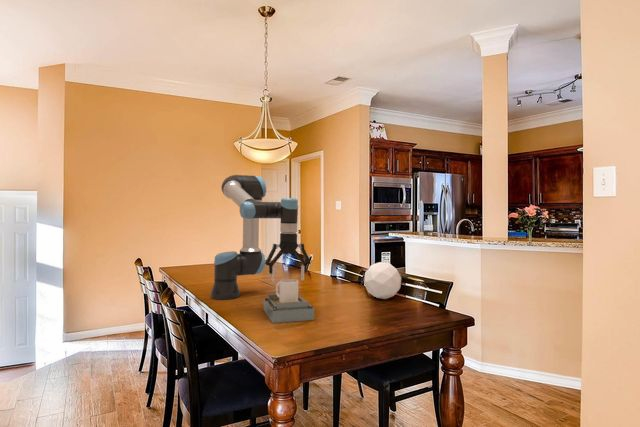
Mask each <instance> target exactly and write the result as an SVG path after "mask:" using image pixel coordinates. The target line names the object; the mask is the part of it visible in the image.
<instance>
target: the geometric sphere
mask: <svg viewBox="0 0 640 427" xmlns="http://www.w3.org/2000/svg"><path fill="white" fill-rule="evenodd" d="M401 283H402V276H401V274H400V272H399V271H398V269H397V268H396V267H395V266H393V265H392V264H391V263H390V262H381V261H379V262H376V263H374V264H371V265H370V266H369V267H368V269H367V270H366V271H365V273H364V280H363V284H364V287H365V288H366V291H367V293H369V294H371V295H372V297H374V298H375V297H376V298H377V299H381V300H387V299H390V298H392V297H394V296H395V295H396V294H397V293H398V292H399V291H400V289H401V285H402V284H401Z"/></svg>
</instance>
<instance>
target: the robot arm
mask: <svg viewBox="0 0 640 427" xmlns="http://www.w3.org/2000/svg"><path fill="white" fill-rule="evenodd" d="M221 192H222V193H223V194H222V195H224V196H225V197H226V198H228V199H230V200H232V201H233V203H235V204H236V205H237V206H238V208H239V214H240V217H241V218H242V247H241V249H239V253H238V252H237V251H224V252H220V253H217V254H215V256H214V263H213V265H214V268H213V270H214V275H213V276H214V277H213V278H214V280H213V281H214V282H213V285H212V288H211V292H210V298H211V299H215V300H233V299H237V298H240V296H241V291H240V288H239V285H238V277H239V276H241V277H242V276H250V275H252V276H254V275H258V274H261V273H262V272H263V270H264V269H265V265H266V266H268V272H269V274H271V278H270V280H271V281H272V283H273V282H275V266H274V265H275V264H276V263H277V261H278V260H279V259H280V258H281V257H282V255H284V254H285V255H288V254H290V255H292V254H294V255H295V257H297V259H298V260H299V261H300V262H301V264H300V280H301V281H305V273H307V266H308V265H311V260H310V258H309V256H308V254H307V251H306V249H305V244H304V243H302V242H301V243H298V234H297V232H298V218H299V217H298V215H299V213H298V211H299V210H298V209H299V205H298V199H297V198H292V197H283V198H282V197H281V199H280V201H263V198H264V197H266V194H267V184H266V182H265V180H264V178H263V177H262V176H259V175H247V174H246V175H241V174H233V175H230V176H228V177H226V178H225V179H224V180H223V182H222V183H221ZM260 219H280V225H279V226H280V230H279V231H280V233H279V243H273V244H272V248H271V251H270V252H269V254H268V256H267V258H266V255H265V254H264V253H263V252H262V249H261V248H260V247H259V245H260V244H259V243H260V242H259V241H260V239H259V238H260V237H259V235H260V234H259V233H260ZM278 248H279V251H278V253H277V254H276V255H275V256H274V254H275V253H276V252H277V251H276V250H277V249H278ZM297 249H300V251H301V253H302V255H303V257H304V258H303V257H302V256H301V255H300V254H299V252H298V251H297ZM273 256H274V258H273ZM272 258H273V259H272Z"/></svg>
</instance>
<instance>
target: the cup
mask: <svg viewBox="0 0 640 427" xmlns="http://www.w3.org/2000/svg"><path fill="white" fill-rule="evenodd" d="M298 293H299V280H298V279H295V278H292V279H291V278H283V279H280V280H279V281H278V282H277V283H276V285H275V294H276V295H277V297H279V303H284V302H298Z"/></svg>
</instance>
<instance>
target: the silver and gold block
mask: <svg viewBox="0 0 640 427" xmlns="http://www.w3.org/2000/svg"><path fill="white" fill-rule="evenodd" d="M263 311H264V313H265V315H266V316H267V317H268V319H269V320H270V322H271V323H272V324H278V323H280V324H281V323H291V322H294V323H295V322H303V321H307V322H308V321H314V320H315V307H314V306H313V305H312V304H310V301H309V300H305V299H304V298H303V297H302V295H300V294H299V292H298V302H284V303H279V297H277V295H276V293H269V294H268V297H264V299H263Z"/></svg>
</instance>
